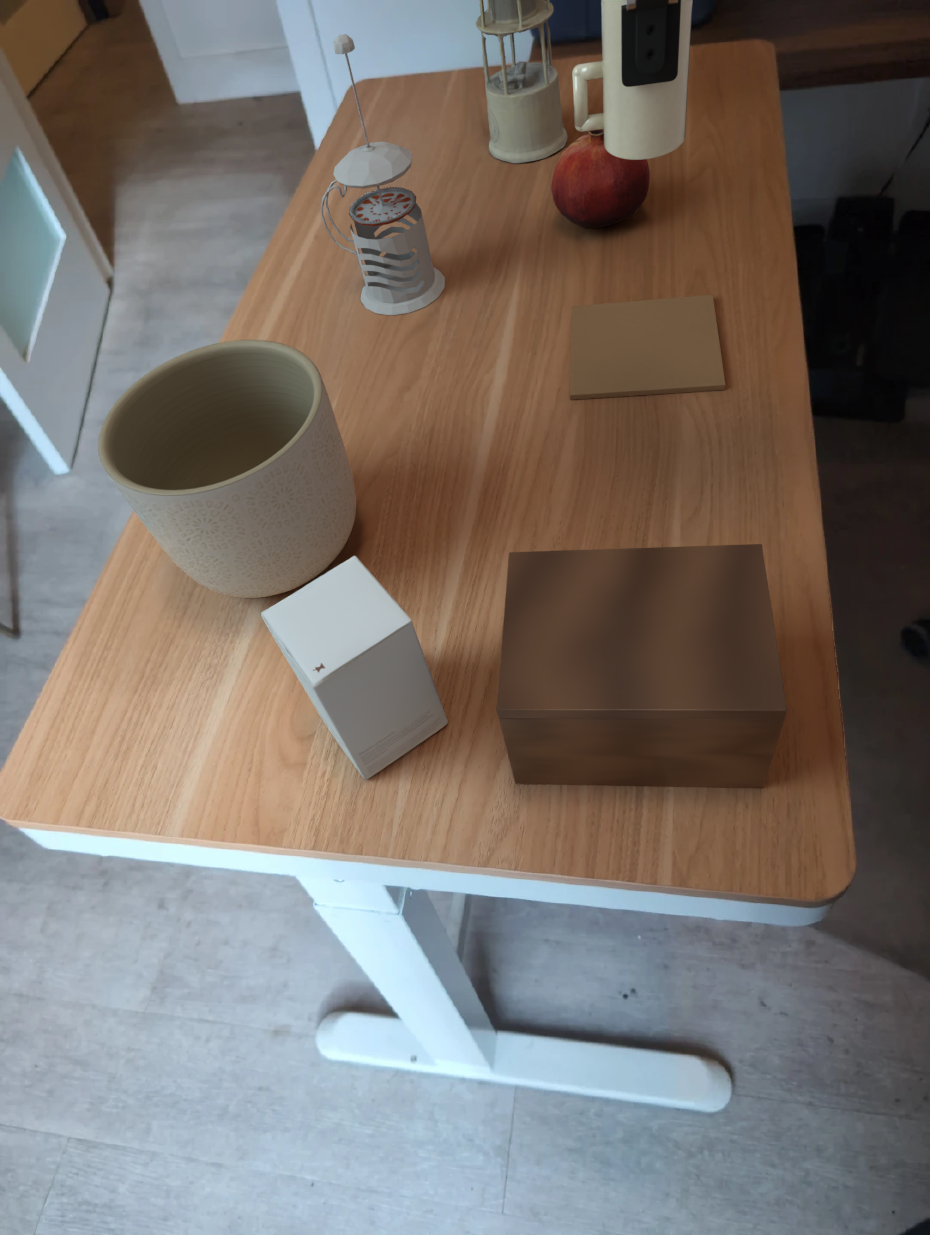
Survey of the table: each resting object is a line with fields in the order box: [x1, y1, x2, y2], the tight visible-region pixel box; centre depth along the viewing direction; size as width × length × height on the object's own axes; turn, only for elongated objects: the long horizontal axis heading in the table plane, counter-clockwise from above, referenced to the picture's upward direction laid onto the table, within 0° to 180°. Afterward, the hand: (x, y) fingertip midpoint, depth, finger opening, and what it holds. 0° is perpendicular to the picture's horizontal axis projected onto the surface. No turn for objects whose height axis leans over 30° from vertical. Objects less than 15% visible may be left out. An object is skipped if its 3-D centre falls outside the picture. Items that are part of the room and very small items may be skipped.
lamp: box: [475, 0, 569, 164], centre depth 98 cm, size 10×13×30 cm
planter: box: [97, 339, 357, 599], centre depth 67 cm, size 17×17×15 cm
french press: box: [320, 33, 446, 316], centre depth 84 cm, size 10×12×25 cm
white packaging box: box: [260, 555, 449, 781], centre depth 56 cm, size 7×7×13 cm
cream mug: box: [571, 0, 693, 160], centre depth 51 cm, size 7×5×10 cm
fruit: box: [550, 129, 651, 229], centre depth 92 cm, size 11×10×10 cm
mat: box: [569, 293, 726, 401], centre depth 81 cm, size 14×14×1 cm
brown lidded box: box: [496, 543, 788, 789], centre depth 54 cm, size 16×12×10 cm
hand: (646, 57), depth 51 cm, fingers closed on cream mug, 5 cm apart
